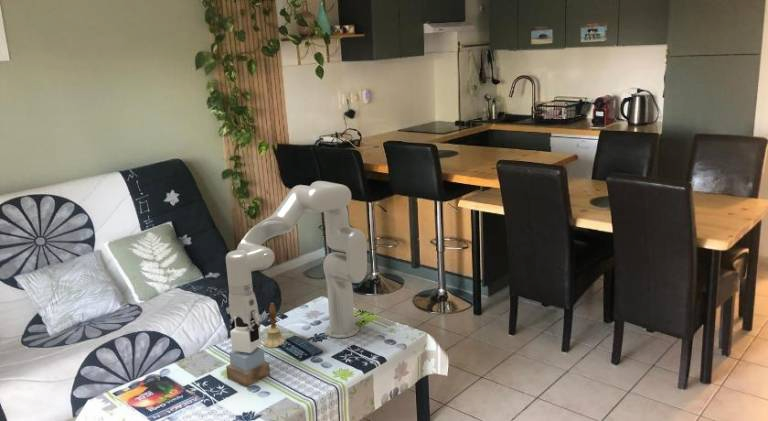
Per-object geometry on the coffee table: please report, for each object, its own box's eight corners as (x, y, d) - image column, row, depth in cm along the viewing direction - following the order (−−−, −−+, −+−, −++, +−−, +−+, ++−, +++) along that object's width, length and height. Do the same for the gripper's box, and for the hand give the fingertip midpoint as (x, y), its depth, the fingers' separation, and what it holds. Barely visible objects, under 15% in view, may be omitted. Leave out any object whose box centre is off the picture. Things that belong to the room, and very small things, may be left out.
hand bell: (270, 337, 250) (267, 298, 246) (289, 339, 248) (286, 300, 244) (259, 346, 243) (255, 306, 239) (279, 349, 240) (276, 309, 236)
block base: (250, 367, 228) (249, 354, 227) (270, 376, 222) (268, 362, 221) (227, 379, 221) (226, 366, 219) (246, 388, 214) (245, 374, 213)
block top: (249, 356, 226) (248, 343, 224) (264, 363, 221) (263, 349, 219) (230, 365, 220) (229, 352, 218) (246, 372, 215) (244, 358, 213)
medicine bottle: (261, 343, 221) (258, 310, 218) (250, 353, 215) (247, 319, 211) (243, 341, 223) (239, 308, 220) (231, 350, 217) (228, 317, 214)
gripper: (267, 290, 211) (271, 339, 215) (233, 279, 222) (238, 326, 226) (248, 297, 205) (253, 348, 210) (214, 286, 216) (220, 334, 221)
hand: (245, 336), depth 218 cm, fingers closed on medicine bottle, 8 cm apart
